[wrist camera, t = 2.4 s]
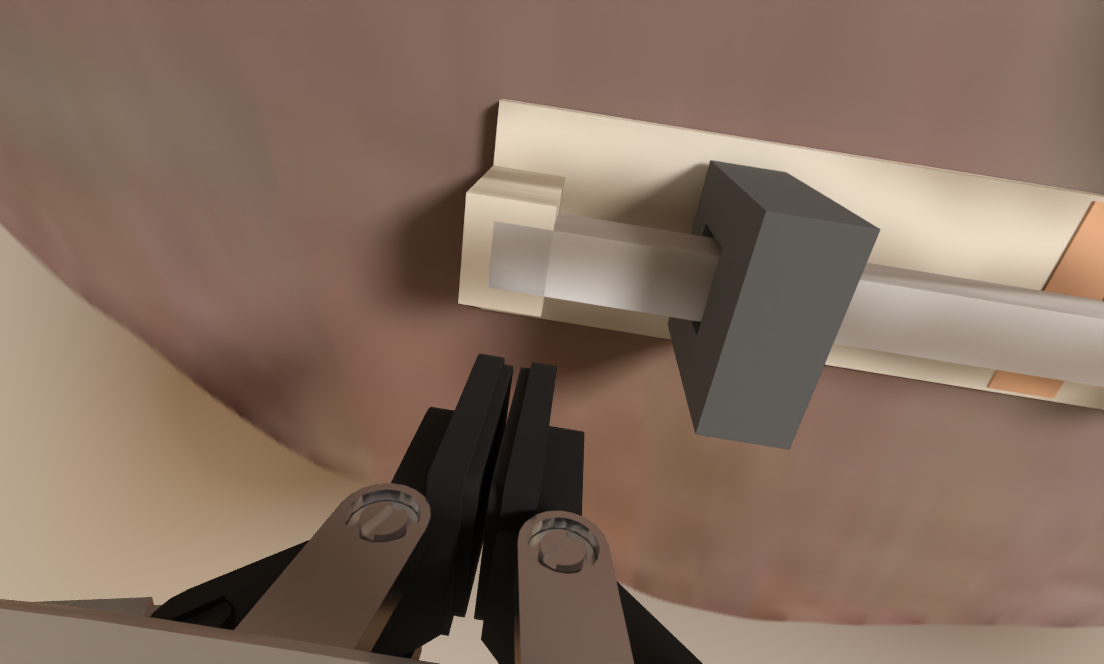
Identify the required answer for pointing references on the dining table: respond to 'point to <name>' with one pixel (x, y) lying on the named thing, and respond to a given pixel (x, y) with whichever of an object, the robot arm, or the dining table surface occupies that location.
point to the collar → (767, 302)
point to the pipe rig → (850, 180)
